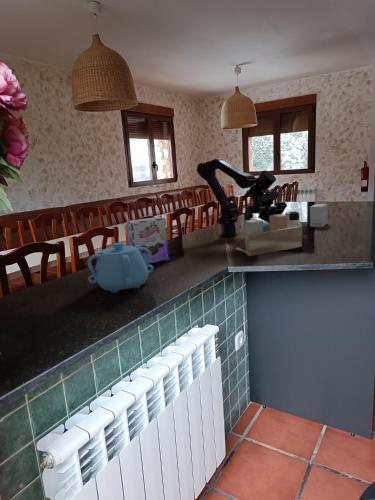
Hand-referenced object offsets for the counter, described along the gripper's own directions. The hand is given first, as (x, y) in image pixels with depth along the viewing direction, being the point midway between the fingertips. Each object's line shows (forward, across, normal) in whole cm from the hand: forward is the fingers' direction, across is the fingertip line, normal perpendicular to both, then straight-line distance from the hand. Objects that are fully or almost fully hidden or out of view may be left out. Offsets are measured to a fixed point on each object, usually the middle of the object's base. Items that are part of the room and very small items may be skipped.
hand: (274, 225), depth 146 cm
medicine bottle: (+4, +11, +8) cm, 14 cm away
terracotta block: (+7, 0, +4) cm, 8 cm away
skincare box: (-8, +42, +20) cm, 47 cm away
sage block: (+10, -14, +1) cm, 17 cm away
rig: (+9, -7, +2) cm, 12 cm away
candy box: (+2, -54, +9) cm, 54 cm away
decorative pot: (+18, -69, -7) cm, 71 cm away
